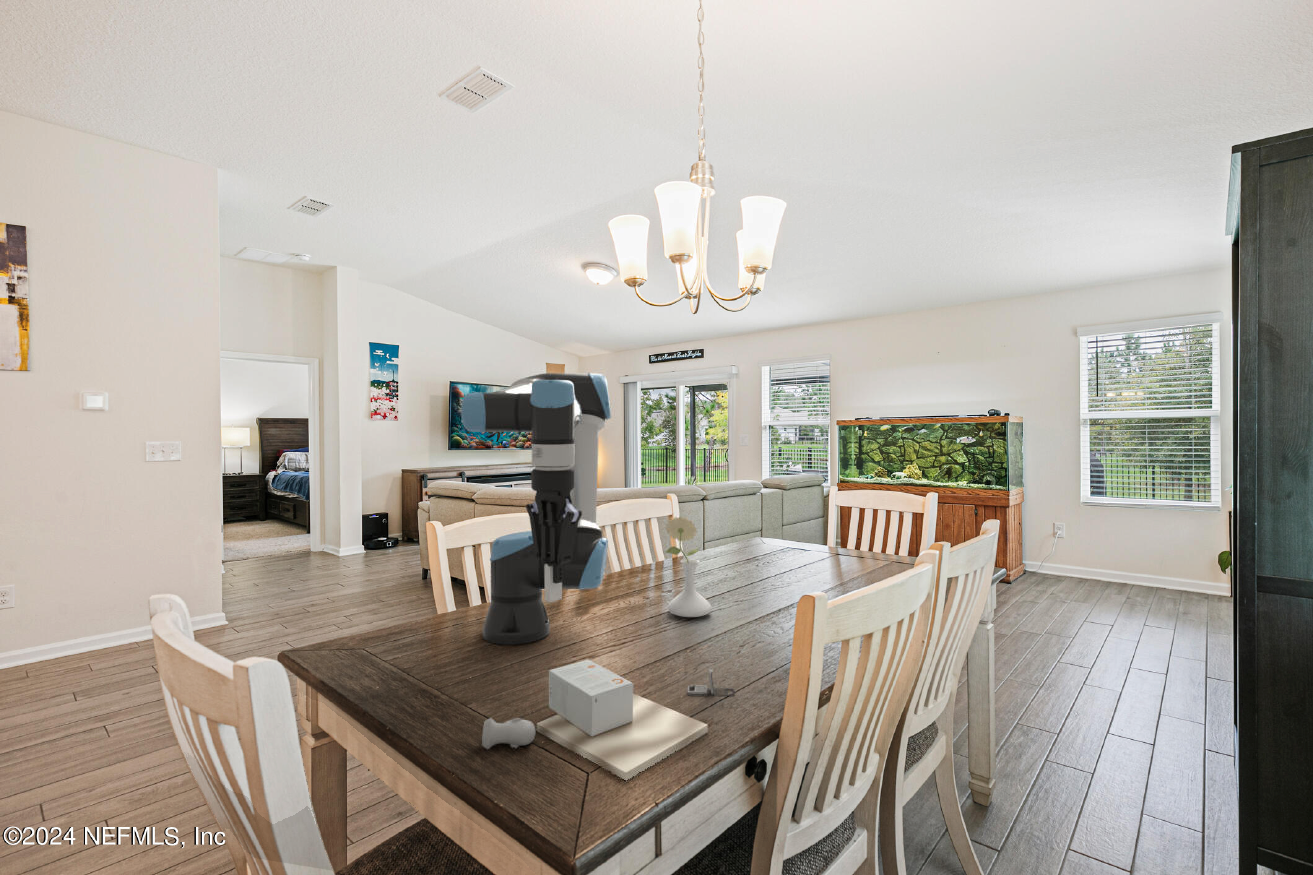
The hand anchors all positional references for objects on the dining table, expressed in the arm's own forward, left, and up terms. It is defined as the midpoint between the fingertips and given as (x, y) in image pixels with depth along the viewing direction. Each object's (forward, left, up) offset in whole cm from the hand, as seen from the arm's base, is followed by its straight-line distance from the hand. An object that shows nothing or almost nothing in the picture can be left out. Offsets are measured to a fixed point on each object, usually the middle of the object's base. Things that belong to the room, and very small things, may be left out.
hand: (553, 599), depth 107 cm
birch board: (+18, -1, -17) cm, 25 cm away
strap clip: (+20, +20, -18) cm, 33 cm away
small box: (+6, -1, -13) cm, 14 cm away
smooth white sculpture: (+8, -15, -18) cm, 24 cm away
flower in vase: (-13, +53, -17) cm, 58 cm away
